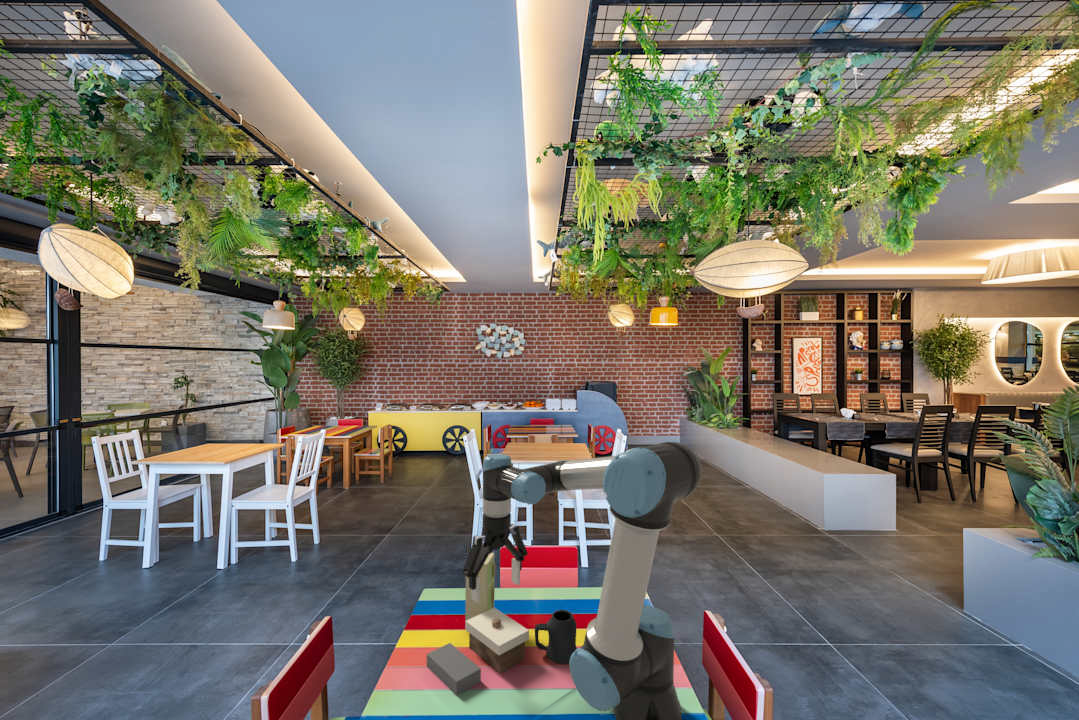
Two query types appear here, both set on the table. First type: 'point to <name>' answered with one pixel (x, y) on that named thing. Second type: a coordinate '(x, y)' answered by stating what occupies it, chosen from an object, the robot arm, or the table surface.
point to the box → (495, 660)
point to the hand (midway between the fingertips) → (496, 591)
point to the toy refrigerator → (482, 590)
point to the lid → (497, 631)
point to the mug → (559, 637)
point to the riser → (453, 668)
